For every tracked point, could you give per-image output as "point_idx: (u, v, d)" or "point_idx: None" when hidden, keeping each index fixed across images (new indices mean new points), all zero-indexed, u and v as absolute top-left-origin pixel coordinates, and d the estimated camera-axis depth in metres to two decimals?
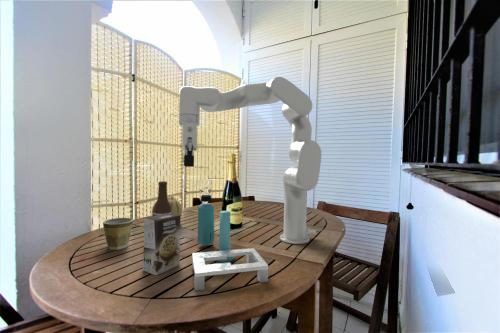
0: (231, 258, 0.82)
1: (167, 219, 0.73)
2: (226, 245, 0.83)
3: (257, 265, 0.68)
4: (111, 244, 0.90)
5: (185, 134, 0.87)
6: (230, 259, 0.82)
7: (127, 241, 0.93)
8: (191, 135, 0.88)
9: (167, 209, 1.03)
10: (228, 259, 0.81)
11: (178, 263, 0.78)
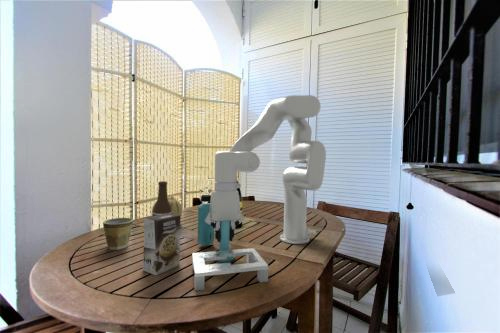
0: (231, 258, 0.82)
1: (167, 219, 0.73)
2: (226, 245, 0.83)
3: (257, 265, 0.68)
4: (111, 244, 0.90)
5: (239, 204, 0.84)
6: (230, 259, 0.82)
7: (127, 241, 0.93)
8: None
9: (167, 209, 1.03)
10: (228, 259, 0.81)
11: (178, 263, 0.78)
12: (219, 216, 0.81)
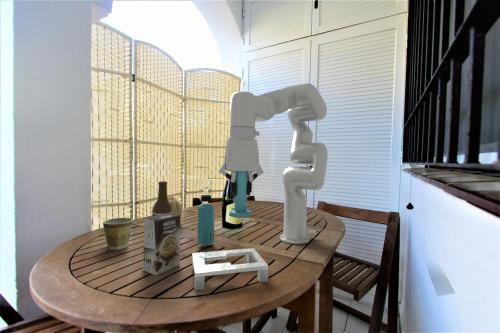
0: (249, 214, 0.72)
1: (167, 219, 0.73)
2: (243, 200, 0.73)
3: (257, 265, 0.68)
4: (111, 244, 0.90)
5: (258, 153, 0.74)
6: (248, 215, 0.72)
7: (127, 241, 0.93)
8: None
9: (167, 209, 1.03)
10: (245, 215, 0.71)
11: (178, 263, 0.78)
12: (235, 166, 0.71)
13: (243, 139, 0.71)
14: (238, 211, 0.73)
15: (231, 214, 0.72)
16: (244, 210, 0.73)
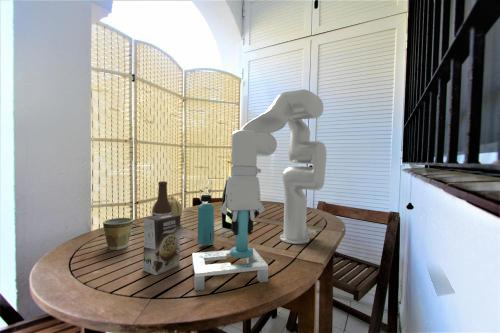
0: (250, 254, 0.71)
1: (167, 219, 0.73)
2: (244, 239, 0.72)
3: (257, 265, 0.68)
4: (111, 244, 0.90)
5: (259, 191, 0.73)
6: (249, 255, 0.71)
7: (127, 241, 0.93)
8: None
9: (167, 209, 1.03)
10: (247, 255, 0.70)
11: (178, 263, 0.78)
12: (237, 205, 0.70)
13: (245, 178, 0.71)
14: (239, 250, 0.72)
15: (233, 254, 0.71)
16: (245, 249, 0.72)
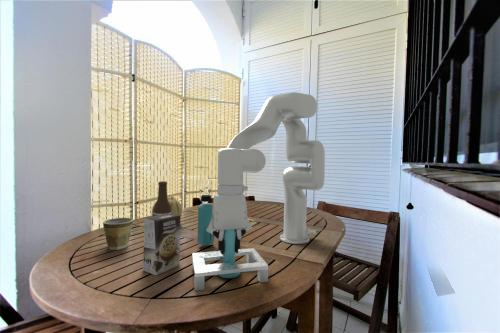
0: (237, 273, 0.71)
1: (167, 219, 0.73)
2: (231, 258, 0.71)
3: (257, 265, 0.68)
4: (111, 244, 0.90)
5: (246, 209, 0.72)
6: (236, 274, 0.70)
7: (127, 241, 0.93)
8: None
9: (167, 209, 1.03)
10: (233, 274, 0.70)
11: (178, 263, 0.78)
12: (223, 225, 0.70)
13: (231, 197, 0.70)
14: None
15: (219, 274, 0.70)
16: None
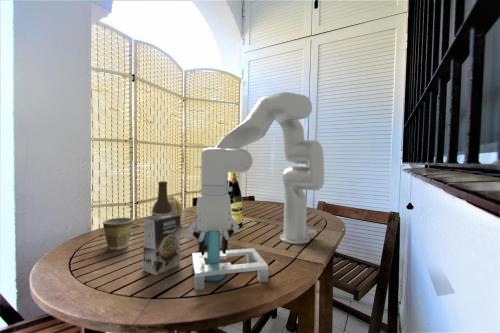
0: (221, 276, 0.69)
1: (167, 219, 0.73)
2: (215, 261, 0.70)
3: (257, 265, 0.68)
4: (111, 244, 0.90)
5: None
6: (220, 277, 0.69)
7: (127, 241, 0.93)
8: None
9: (167, 209, 1.03)
10: (217, 278, 0.69)
11: (178, 263, 0.78)
12: (206, 226, 0.68)
13: (214, 198, 0.68)
14: None
15: None
16: None
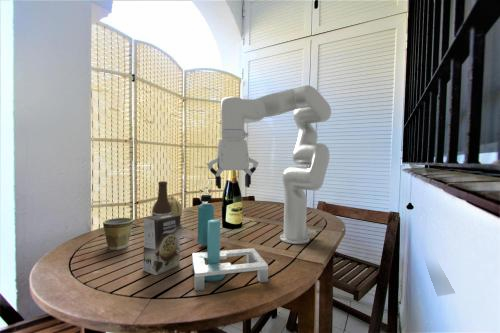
0: (221, 276, 0.69)
1: (167, 219, 0.73)
2: (215, 261, 0.70)
3: (257, 265, 0.68)
4: (111, 244, 0.90)
5: None
6: (220, 277, 0.69)
7: (127, 241, 0.93)
8: None
9: (167, 209, 1.03)
10: (217, 278, 0.69)
11: (178, 263, 0.78)
12: (227, 165, 0.79)
13: (234, 140, 0.79)
14: None
15: None
16: None
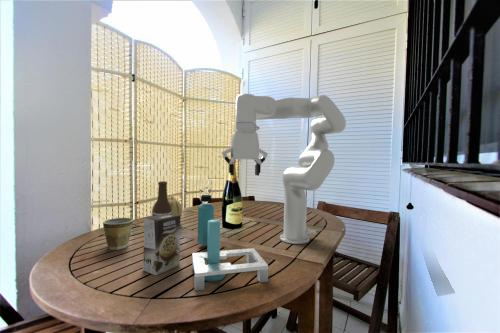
0: (221, 276, 0.69)
1: (167, 219, 0.73)
2: (215, 261, 0.70)
3: (257, 265, 0.68)
4: (111, 244, 0.90)
5: (258, 144, 0.90)
6: (220, 277, 0.69)
7: (127, 241, 0.93)
8: None
9: (167, 209, 1.03)
10: (217, 278, 0.69)
11: (178, 263, 0.78)
12: (240, 154, 0.88)
13: (246, 132, 0.88)
14: None
15: None
16: None
